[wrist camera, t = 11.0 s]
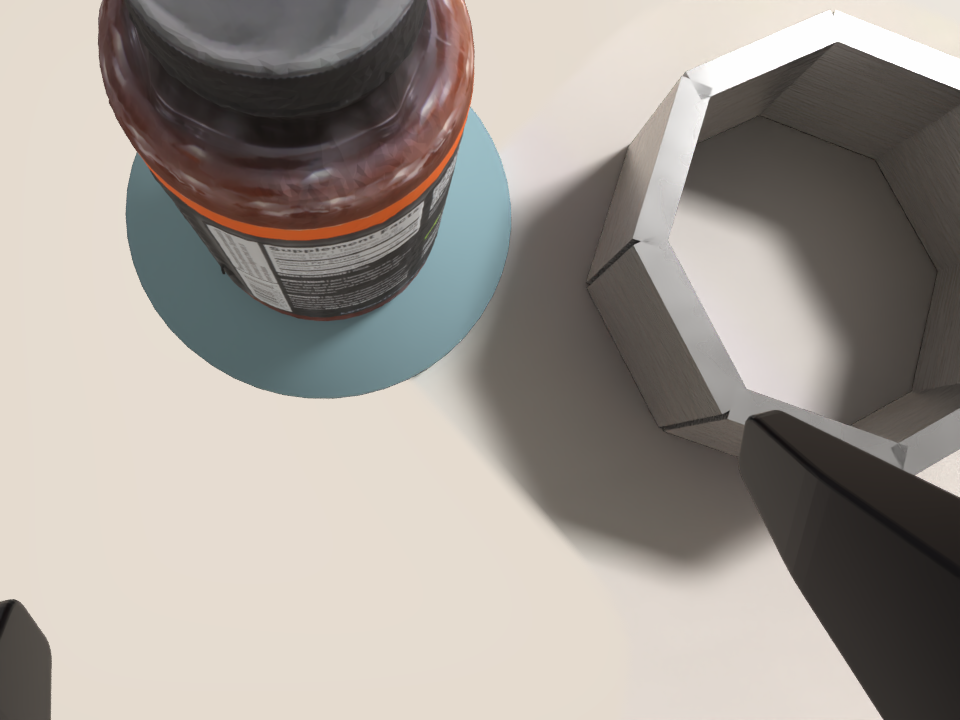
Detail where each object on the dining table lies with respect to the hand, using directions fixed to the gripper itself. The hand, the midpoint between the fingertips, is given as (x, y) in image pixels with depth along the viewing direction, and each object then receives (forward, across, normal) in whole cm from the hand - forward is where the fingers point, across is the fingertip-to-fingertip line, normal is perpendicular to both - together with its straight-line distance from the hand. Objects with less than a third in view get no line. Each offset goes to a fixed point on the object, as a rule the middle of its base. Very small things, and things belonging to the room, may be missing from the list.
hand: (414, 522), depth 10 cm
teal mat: (+13, 0, +2) cm, 13 cm away
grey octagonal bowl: (+10, -12, +5) cm, 17 cm away
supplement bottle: (+13, 0, +2) cm, 13 cm away
